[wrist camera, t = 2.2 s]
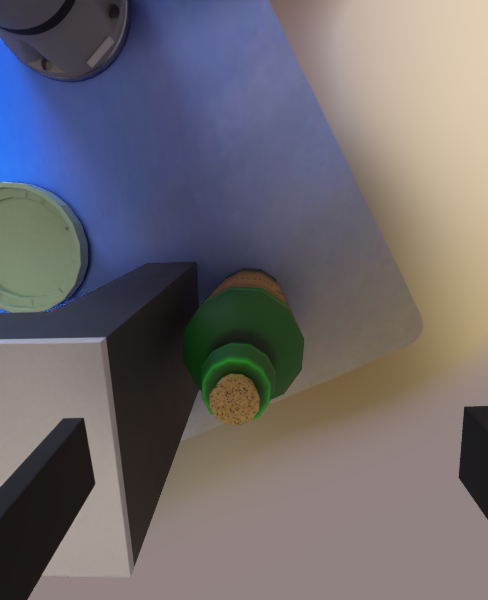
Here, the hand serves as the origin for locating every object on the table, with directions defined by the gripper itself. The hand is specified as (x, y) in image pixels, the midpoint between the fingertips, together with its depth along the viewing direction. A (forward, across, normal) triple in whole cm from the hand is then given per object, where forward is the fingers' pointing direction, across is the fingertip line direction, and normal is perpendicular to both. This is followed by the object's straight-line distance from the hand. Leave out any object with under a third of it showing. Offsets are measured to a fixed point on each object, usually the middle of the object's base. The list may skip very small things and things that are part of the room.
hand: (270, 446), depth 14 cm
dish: (+39, -31, +4) cm, 50 cm away
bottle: (+39, -2, -4) cm, 39 cm away
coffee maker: (+39, -15, -7) cm, 42 cm away
